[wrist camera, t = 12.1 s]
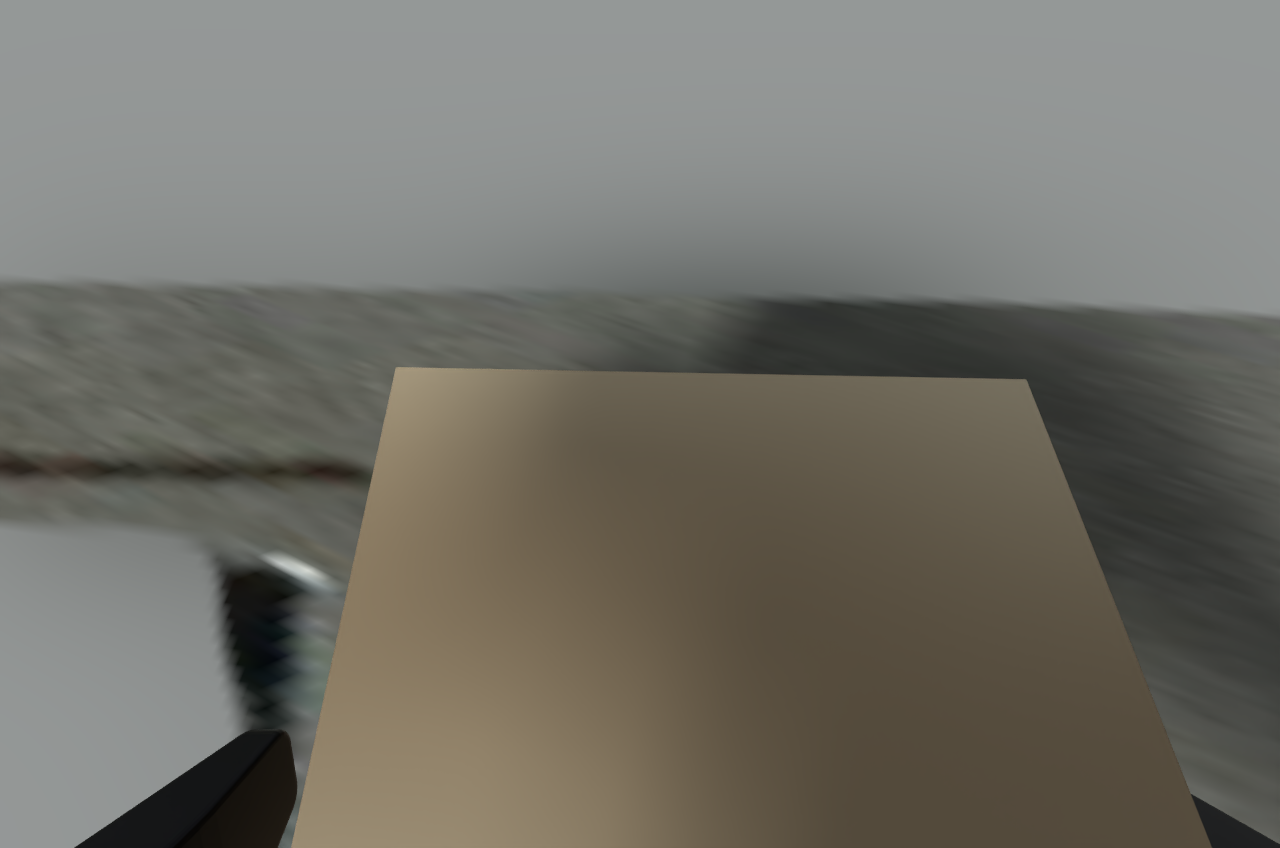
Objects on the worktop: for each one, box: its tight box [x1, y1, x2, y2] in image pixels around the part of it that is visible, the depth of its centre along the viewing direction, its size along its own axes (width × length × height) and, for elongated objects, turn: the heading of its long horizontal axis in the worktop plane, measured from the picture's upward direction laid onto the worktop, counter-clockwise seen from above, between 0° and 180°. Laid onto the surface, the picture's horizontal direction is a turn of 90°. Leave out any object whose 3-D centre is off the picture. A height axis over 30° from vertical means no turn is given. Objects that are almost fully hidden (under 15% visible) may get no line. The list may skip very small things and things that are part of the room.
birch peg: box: [291, 367, 1212, 848], centre depth 9 cm, size 4×4×14 cm
